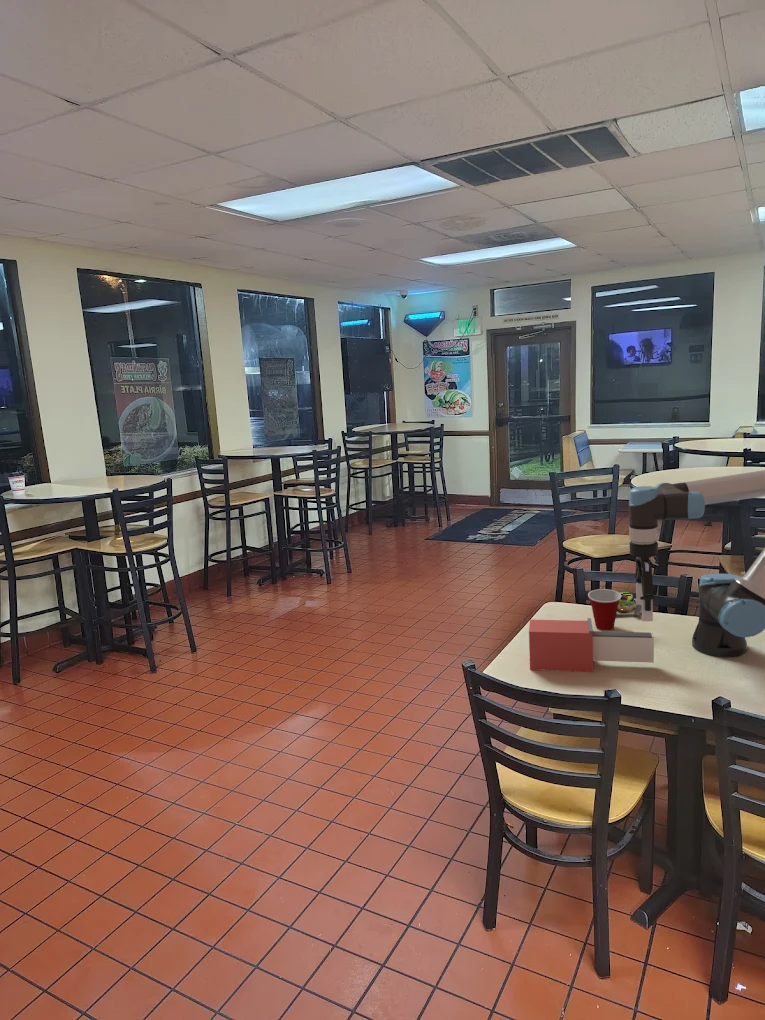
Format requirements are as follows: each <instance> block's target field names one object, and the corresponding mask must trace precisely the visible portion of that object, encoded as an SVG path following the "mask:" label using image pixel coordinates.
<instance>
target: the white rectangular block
mask: <svg viewBox="0 0 765 1020" xmlns="http://www.w3.org/2000/svg"><path fill="white" fill-rule="evenodd" d="M654 651H655V637H654V634H653V632H644V631H643V632H640V631H638V632H637V631H607V630H600V631H598V630H597V631H596V630H593V662H597V661H599V662H620V663H621V662H622V663H623V662H624V663H650V664H651V663H653V664H654V661H655V660H654V659H655V652H654Z"/></svg>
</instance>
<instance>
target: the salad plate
mask: <svg viewBox="0 0 765 1020" xmlns="http://www.w3.org/2000/svg"><path fill="white" fill-rule="evenodd" d="M618 592H619V591H618ZM619 593H620V594H623V593H630V592H629V591H620V592H619ZM626 595H631V596H626ZM621 599H627V600H621ZM621 599H620V601H619V604H618V609H617V614H616V618H618V617H619V618H623V617H638V616H640V615H642V605H637V604H636V598H635V597H634V594H633V593H631V594H623V595H622V596H621ZM634 600H635V601H634ZM621 609H623V610H621Z"/></svg>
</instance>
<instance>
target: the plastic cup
mask: <svg viewBox="0 0 765 1020" xmlns="http://www.w3.org/2000/svg"><path fill="white" fill-rule="evenodd" d="M621 596H622V595H621V594H620V593H619V591H617V590H613V589H606V588H598V589H593V590H591V591H588V593H587V597H588V599H589V601H590V604H591V610H592V614H593V620H594V625H595V628H596V629H597V630H600V631H611V630H614V627H615V622H616V619H617V617H616V614H617V613H618V611H617V609H618V604H619V601H620V599H621Z"/></svg>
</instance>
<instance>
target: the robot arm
mask: <svg viewBox="0 0 765 1020" xmlns="http://www.w3.org/2000/svg"><path fill="white" fill-rule="evenodd" d="M628 496H629V497H628V498H629V499H628V507H629V508H628V511H629V512H628V513H629V515H628V516H629V526H628V529H629V531H628V533H629V534H628V537H629V554H630V555H631V556H632V557H636V558H635V572H634V573H635V575H634V578H635V582H636V583H635V597H636V598H635V599H636V604H637V605H642V613H641V621H642V622H654V620H653V619H654V614H653V613H654V612H653V611H654V606H653V605H654V601H653V600H655V596H654V583H653V562H652V560H651V559H650V558H651V557H652V558H653V557H656V556H658V554H659V543H658V540H659V537H658V535H659V533H661V530H660V529H658V528H659V521H668V520H671V521H673V520H692V519H693V520H694V519H700V518H702V517H703V515H704V513H705V510H706V506H707V505H713V504H720V503H721V504H722V503H727V502H733V501H740V500H747V499H755V498H762V497H765V469H763V470H756V471H750V472H743V473H738V474H730V475H729V474H728V475H724V476H716V477H712V478H711V477H710V478H704V479H697V480H691V481H685V482H677V483H670V482H660V483H658V484H656V485H655V486H648V485H647V486H646V485H642V486H641V485H640V486H635V487H632V488H631V489H630V490H629V495H628ZM698 587H699V588H698V589H699V591H698V595H699V597H698V599H699V600H698V622H697V624H696V627H695V630H694V632H693V635H692V639H691V642H692V643H691V645H692V648H694V649H695V650H696V651H698V652H700V653H703V654H706V655H710V656H714V657H715V656H716V657H730V658H732V657H738V656H742V655H743V654H745V653H746V652H747V650H748V642H747V639H746V638H751V637H754V636H756V635H759V634H761V633H762V632H763V631H765V547H764V548H763V549H762V550H761V552H760V554H759V555H758V556H757V558H756V559H755V561H753V563H752V565H751V566H750V567H749V569H748V570H747V571H746V572H745V574H744V575H743V576H740V575H737V574H732V573H708V574H704V575H702V576H701V577H700V578H699V584H698Z"/></svg>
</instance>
